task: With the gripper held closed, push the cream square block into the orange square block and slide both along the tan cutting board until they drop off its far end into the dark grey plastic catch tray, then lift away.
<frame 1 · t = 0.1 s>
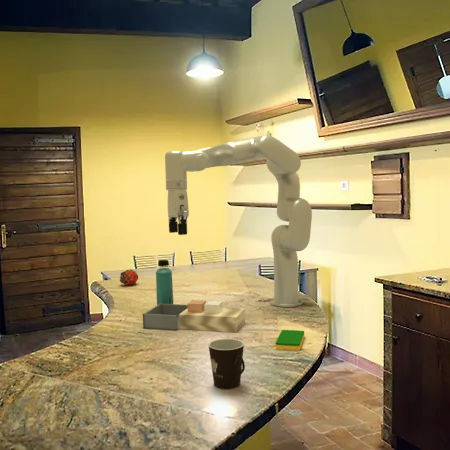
hand: (178, 233, 186), 31 cm above the kitchen counter, tool pointing down, fingers open, 9 cm apart
catch tray: (168, 323, 183), on the kitchen counter
cream square block: (213, 311, 178), point 5 cm above the kitchen counter, touching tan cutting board
dragon fruit: (129, 285, 253), on the kitchen counter
orange square block: (197, 310, 179), point 5 cm above the kitchen counter, touching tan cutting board
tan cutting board: (212, 325, 178), on the kitchen counter
dish sponge: (290, 344, 158), on the kitchen counter
beverage bottle: (165, 311, 200), on the kitchen counter
coffee mug: (227, 387, 125), on the kitchen counter
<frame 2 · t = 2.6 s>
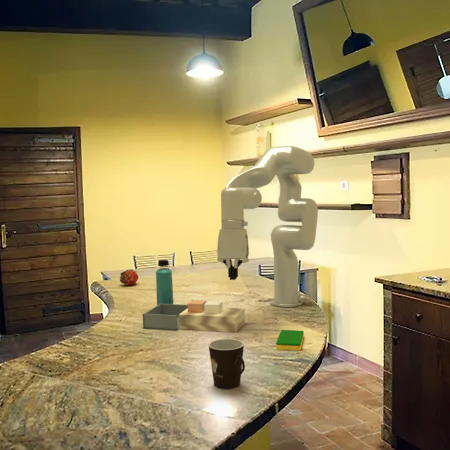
hand: (233, 279, 174), 17 cm above the kitchen counter, tool pointing down, fingers closed
nothing on the kitchen counter moved.
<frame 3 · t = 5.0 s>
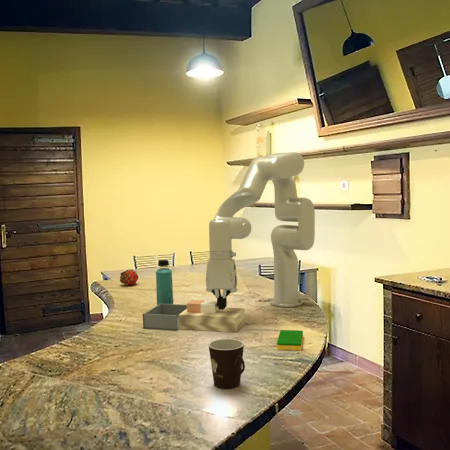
hand: (221, 308, 177), 6 cm above the kitchen counter, tool pointing down, fingers closed
cream square block: (210, 311, 178), point 5 cm above the kitchen counter, touching gripper, orange square block
orange square block: (196, 310, 179), point 5 cm above the kitchen counter, touching cream square block
everything else where it was.
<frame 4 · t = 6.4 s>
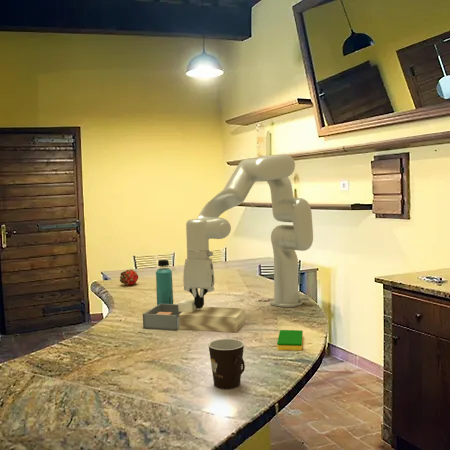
hand: (199, 307, 179), 6 cm above the kitchen counter, tool pointing down, fingers closed
cream square block: (187, 310, 180), point 5 cm above the kitchen counter, touching gripper
orange square block: (163, 313, 182), point 3 cm above the kitchen counter, tilted 180°, touching catch tray
everything else where it was.
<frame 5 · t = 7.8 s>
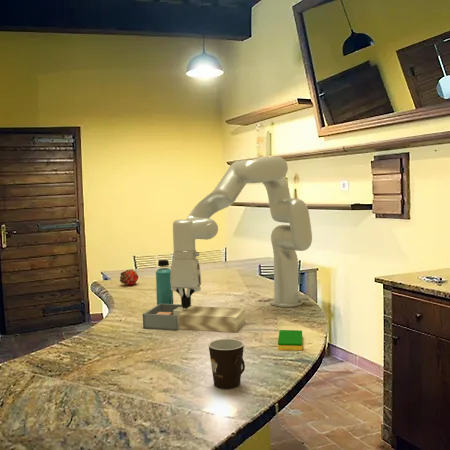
hand: (186, 307, 180), 6 cm above the kitchen counter, tool pointing down, fingers closed
cream square block: (184, 316, 180), point 3 cm above the kitchen counter, tilted 90°, touching catch tray
everything else where it was.
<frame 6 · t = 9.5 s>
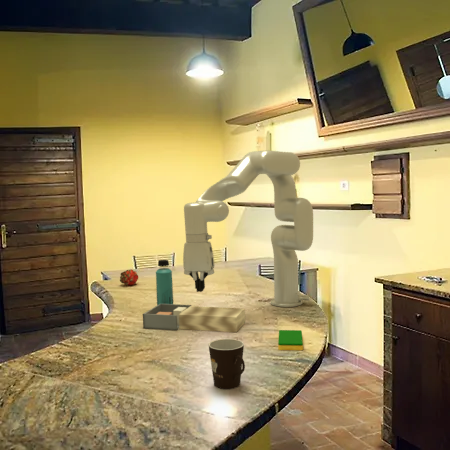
hand: (200, 290, 179), 12 cm above the kitchen counter, tool pointing down, fingers closed
nothing on the kitchen counter moved.
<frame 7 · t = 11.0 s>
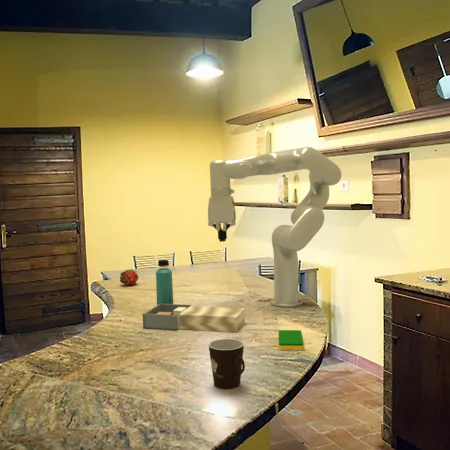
hand: (222, 241, 197), 27 cm above the kitchen counter, tool pointing down, fingers closed
nothing on the kitchen counter moved.
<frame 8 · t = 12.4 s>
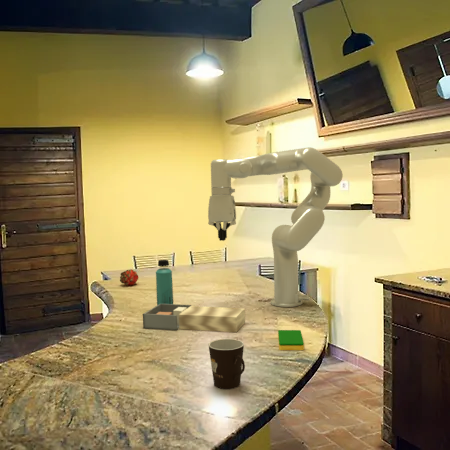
hand: (222, 240, 198), 27 cm above the kitchen counter, tool pointing down, fingers closed
nothing on the kitchen counter moved.
at the end: orange square block inside the target area (1.6 cm from its centre), point 3.5 cm above the kitchen counter; cream square block inside the target area (6.4 cm from its centre), point 3.0 cm above the kitchen counter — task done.
